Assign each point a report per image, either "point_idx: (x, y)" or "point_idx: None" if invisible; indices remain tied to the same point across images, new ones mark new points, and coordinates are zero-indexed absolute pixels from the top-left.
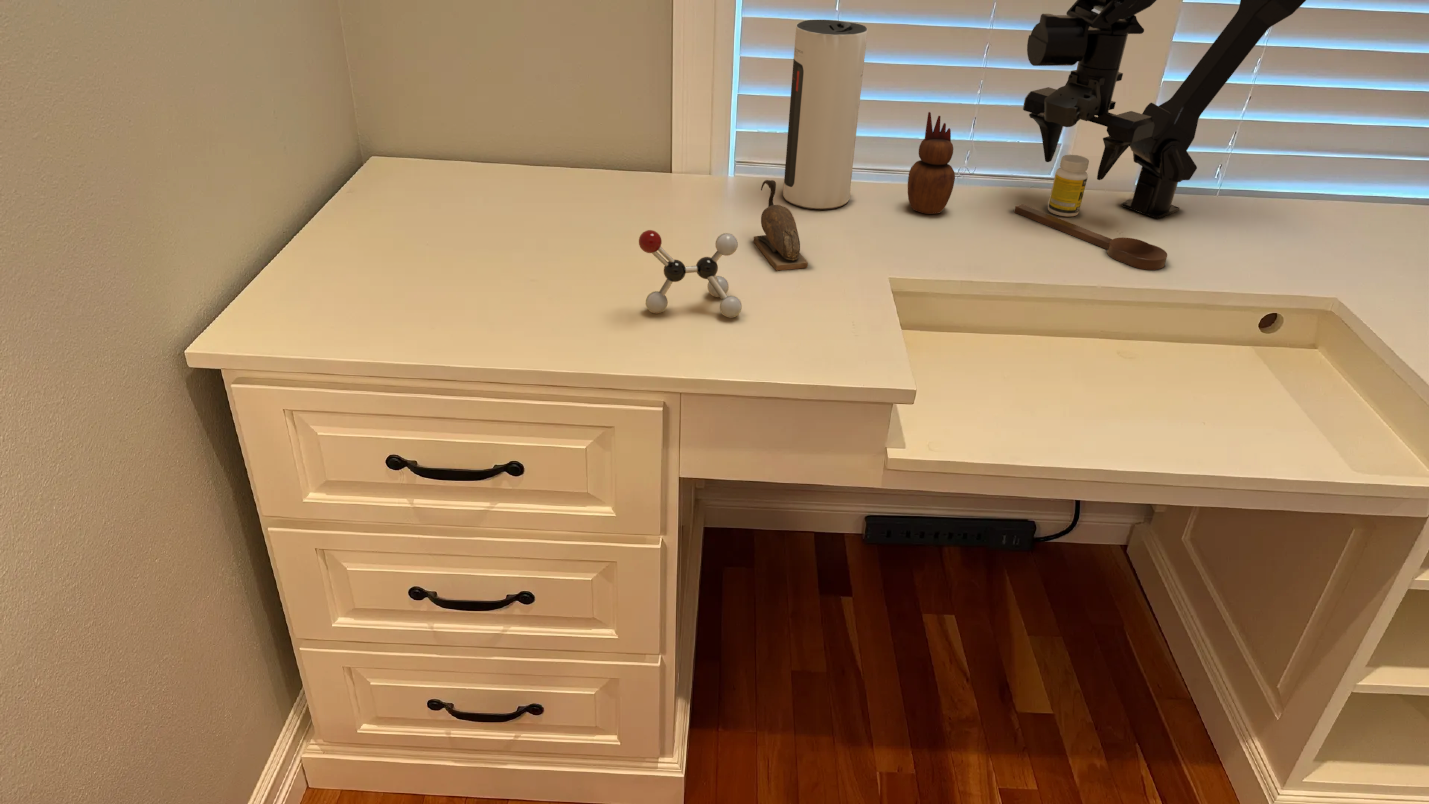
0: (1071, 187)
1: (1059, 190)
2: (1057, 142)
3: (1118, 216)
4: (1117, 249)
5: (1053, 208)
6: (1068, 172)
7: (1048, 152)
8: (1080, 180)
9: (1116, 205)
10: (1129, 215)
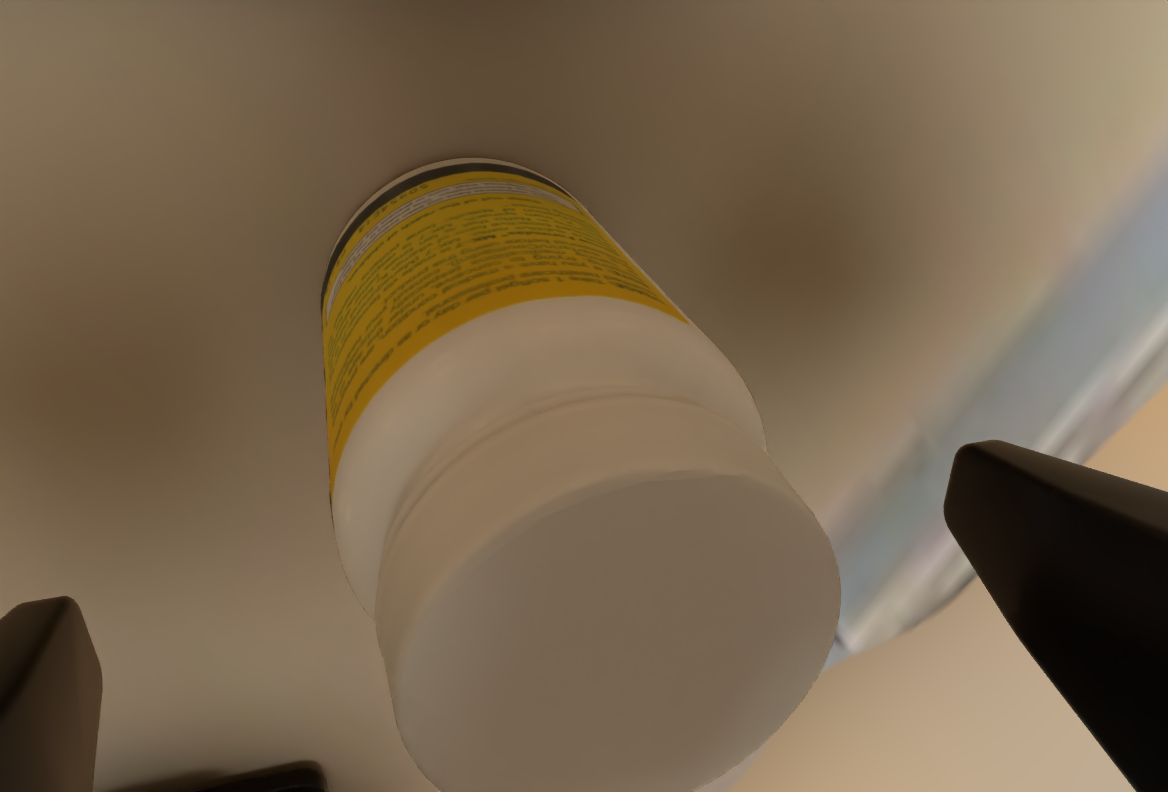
0: (386, 321)
1: (507, 229)
2: (1120, 754)
3: (163, 638)
4: None
5: (486, 165)
6: (532, 401)
7: (1072, 504)
8: (341, 462)
9: (353, 748)
10: (145, 719)
